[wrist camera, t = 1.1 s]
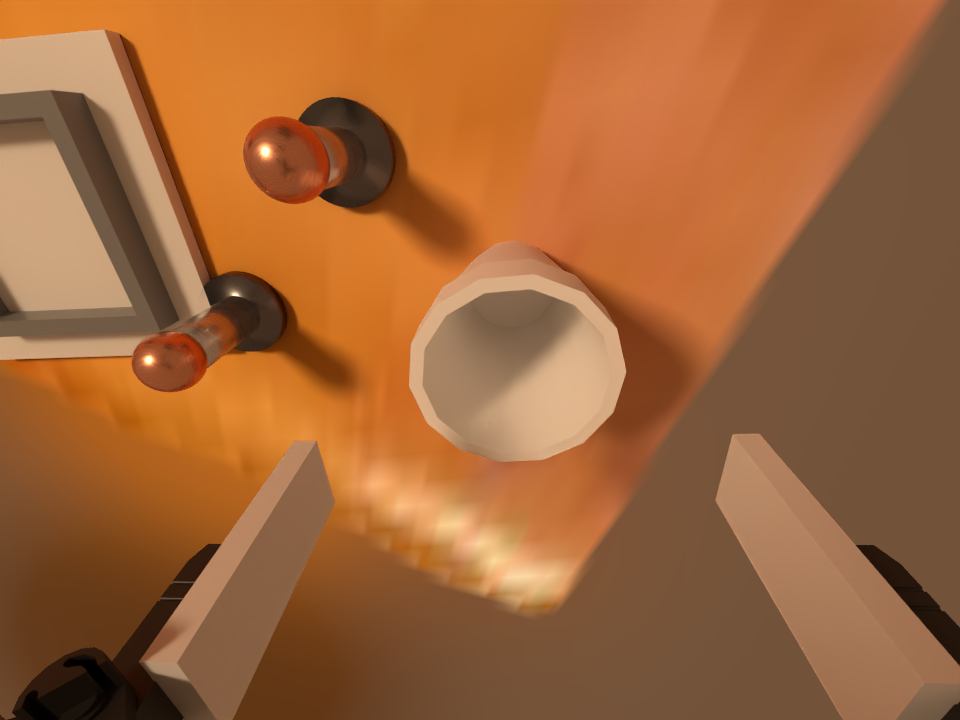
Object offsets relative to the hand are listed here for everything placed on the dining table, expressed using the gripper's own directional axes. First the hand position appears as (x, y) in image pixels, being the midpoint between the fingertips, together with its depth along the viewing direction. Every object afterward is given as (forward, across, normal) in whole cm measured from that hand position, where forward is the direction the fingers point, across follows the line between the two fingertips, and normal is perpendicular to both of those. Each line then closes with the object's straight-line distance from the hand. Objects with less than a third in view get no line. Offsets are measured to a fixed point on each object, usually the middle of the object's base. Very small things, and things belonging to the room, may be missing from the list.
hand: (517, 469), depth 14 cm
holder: (+18, -32, +6) cm, 37 cm away
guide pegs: (+18, -15, +4) cm, 24 cm away
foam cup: (+19, 0, 0) cm, 19 cm away
